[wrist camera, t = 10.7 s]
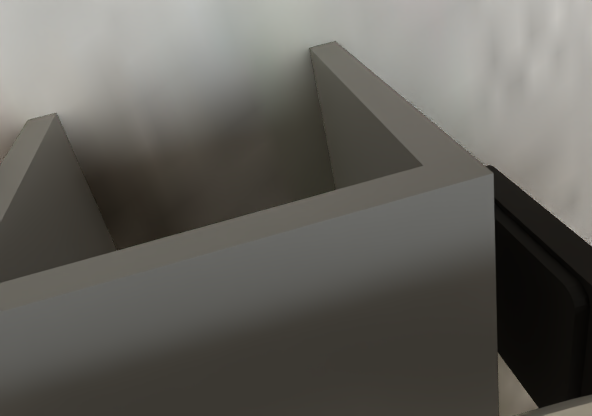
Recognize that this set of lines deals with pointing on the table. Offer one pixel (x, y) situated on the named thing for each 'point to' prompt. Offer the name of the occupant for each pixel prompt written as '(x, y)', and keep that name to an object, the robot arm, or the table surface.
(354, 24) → the table surface
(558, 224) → the robot arm
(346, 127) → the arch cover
